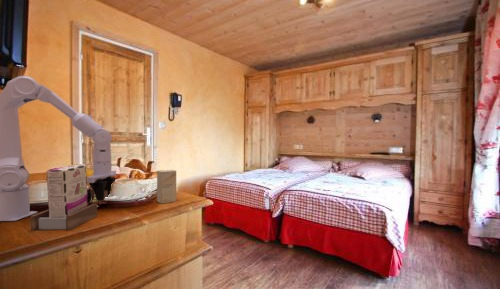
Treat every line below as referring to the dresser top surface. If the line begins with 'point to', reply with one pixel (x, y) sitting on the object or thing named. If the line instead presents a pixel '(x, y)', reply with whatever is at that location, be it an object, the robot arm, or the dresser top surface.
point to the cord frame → (58, 220)
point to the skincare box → (166, 186)
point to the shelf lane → (68, 217)
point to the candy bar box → (66, 190)
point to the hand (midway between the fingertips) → (103, 198)
